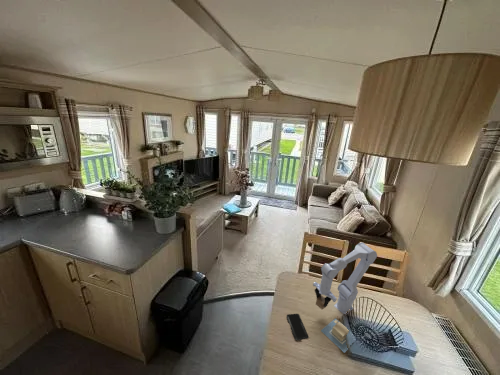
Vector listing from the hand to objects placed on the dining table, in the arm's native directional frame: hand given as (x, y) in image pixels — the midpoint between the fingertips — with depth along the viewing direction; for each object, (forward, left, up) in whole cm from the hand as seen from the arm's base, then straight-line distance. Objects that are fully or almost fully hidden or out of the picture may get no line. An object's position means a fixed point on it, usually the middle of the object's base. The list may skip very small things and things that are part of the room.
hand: (321, 302), depth 124 cm
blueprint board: (+2, +14, -8) cm, 17 cm away
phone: (+18, -2, -9) cm, 20 cm away
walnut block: (0, 0, -2) cm, 2 cm away
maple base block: (+2, +14, -8) cm, 16 cm away
